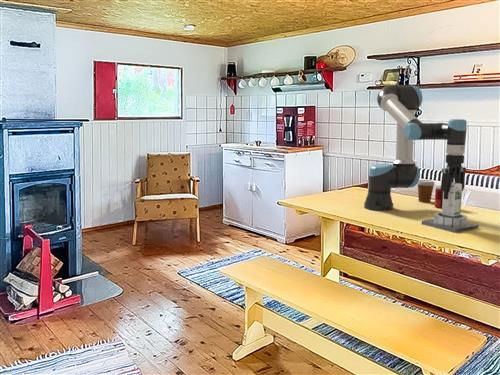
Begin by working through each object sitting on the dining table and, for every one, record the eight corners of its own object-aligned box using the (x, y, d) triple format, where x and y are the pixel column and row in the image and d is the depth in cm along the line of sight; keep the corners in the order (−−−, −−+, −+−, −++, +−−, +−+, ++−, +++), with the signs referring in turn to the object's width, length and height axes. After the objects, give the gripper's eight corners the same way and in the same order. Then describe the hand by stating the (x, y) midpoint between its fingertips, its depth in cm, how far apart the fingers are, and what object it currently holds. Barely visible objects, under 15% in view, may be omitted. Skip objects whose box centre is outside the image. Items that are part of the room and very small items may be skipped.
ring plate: (421, 223, 220) (422, 213, 219) (444, 220, 228) (445, 209, 227) (455, 232, 205) (456, 221, 204) (478, 228, 213) (479, 217, 212)
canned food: (441, 209, 252) (443, 189, 250) (431, 206, 259) (432, 186, 257) (453, 208, 255) (454, 188, 253) (441, 205, 262) (443, 186, 260)
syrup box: (453, 216, 211) (455, 184, 209) (441, 214, 216) (443, 182, 214) (460, 215, 214) (462, 183, 212) (448, 213, 219) (450, 181, 217)
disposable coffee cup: (413, 199, 278) (415, 179, 276) (430, 200, 277) (432, 179, 275) (418, 203, 269) (419, 182, 267) (435, 203, 268) (436, 182, 266)
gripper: (448, 156, 203) (444, 209, 207) (476, 154, 212) (472, 204, 216) (433, 154, 209) (430, 206, 213) (461, 152, 219) (457, 202, 222)
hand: (451, 205), depth 215 cm, fingers closed on syrup box, 6 cm apart
